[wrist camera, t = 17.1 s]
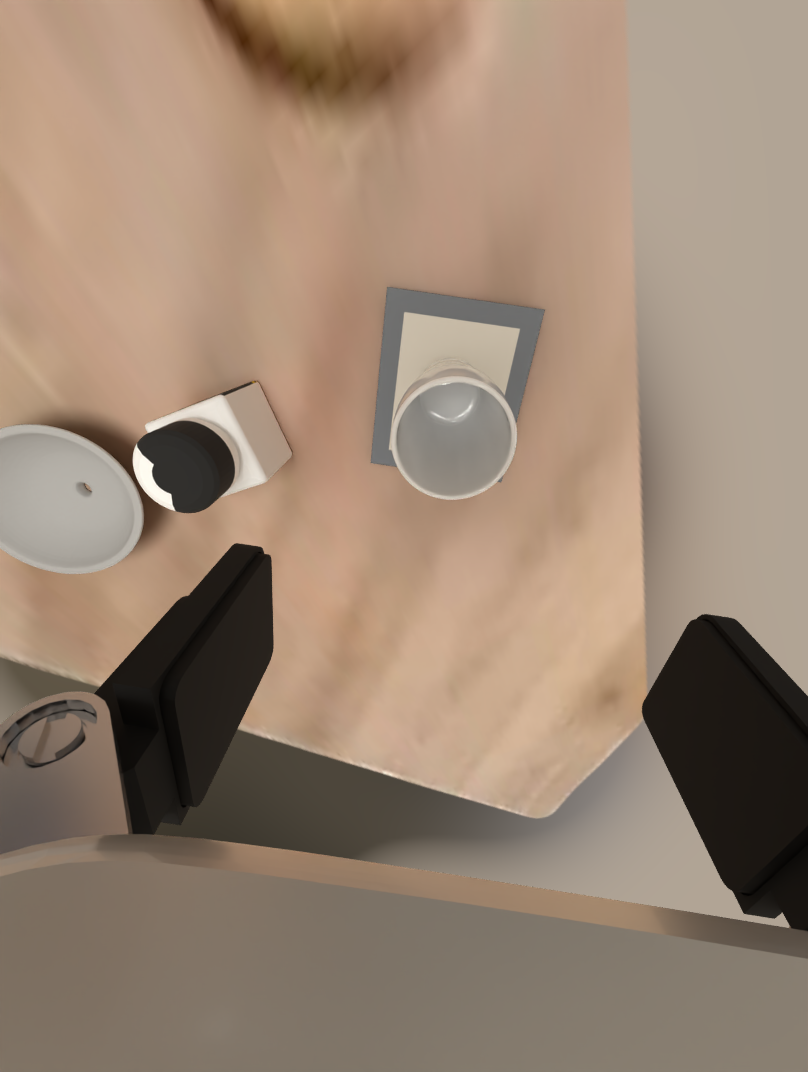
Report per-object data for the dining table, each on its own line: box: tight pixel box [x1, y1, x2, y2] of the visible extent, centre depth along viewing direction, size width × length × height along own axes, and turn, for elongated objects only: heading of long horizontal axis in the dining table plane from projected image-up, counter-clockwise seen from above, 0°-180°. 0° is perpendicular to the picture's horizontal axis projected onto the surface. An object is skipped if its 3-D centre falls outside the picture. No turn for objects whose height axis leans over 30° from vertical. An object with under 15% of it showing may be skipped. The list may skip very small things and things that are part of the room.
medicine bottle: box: [133, 381, 292, 513], centre depth 34 cm, size 7×7×12 cm
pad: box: [371, 287, 545, 482], centre depth 36 cm, size 14×12×1 cm
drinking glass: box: [391, 358, 517, 500], centre depth 29 cm, size 7×7×15 cm
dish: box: [0, 424, 144, 574], centre depth 41 cm, size 18×14×5 cm
